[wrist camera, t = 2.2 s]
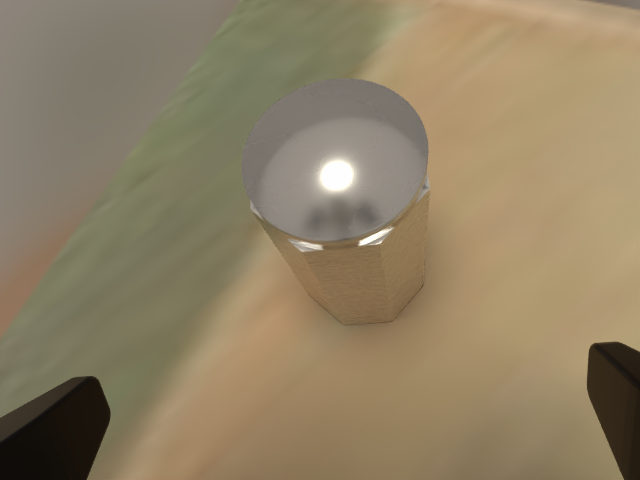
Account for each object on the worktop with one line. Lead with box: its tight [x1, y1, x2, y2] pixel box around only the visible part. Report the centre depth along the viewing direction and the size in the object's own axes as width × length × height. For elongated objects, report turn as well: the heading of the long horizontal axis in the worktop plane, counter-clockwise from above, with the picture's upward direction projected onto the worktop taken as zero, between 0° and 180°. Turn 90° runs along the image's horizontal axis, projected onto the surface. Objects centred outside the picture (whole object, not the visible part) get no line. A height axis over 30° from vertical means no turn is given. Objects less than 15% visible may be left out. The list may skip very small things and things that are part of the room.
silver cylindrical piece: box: [242, 79, 430, 325], centre depth 18 cm, size 6×6×10 cm
